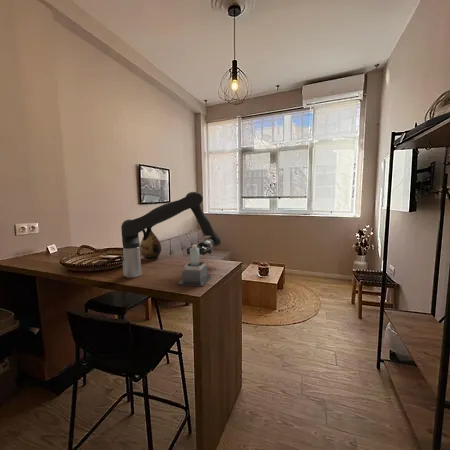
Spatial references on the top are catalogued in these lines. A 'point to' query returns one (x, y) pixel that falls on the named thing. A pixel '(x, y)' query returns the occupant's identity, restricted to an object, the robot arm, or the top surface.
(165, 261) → the top surface
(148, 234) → the ceramic jug
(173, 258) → the top surface
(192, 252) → the bottle
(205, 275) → the grey socket base
